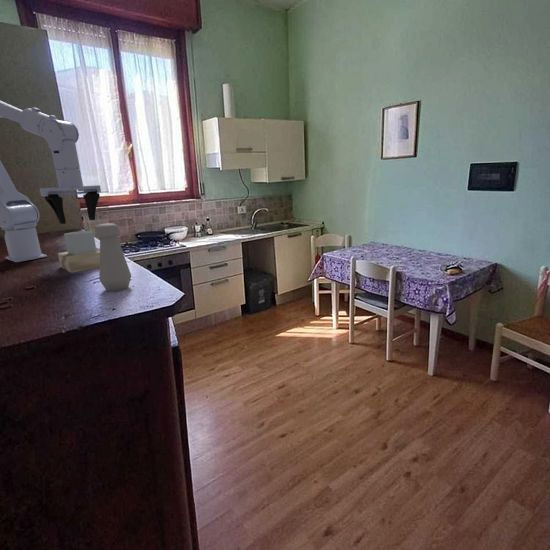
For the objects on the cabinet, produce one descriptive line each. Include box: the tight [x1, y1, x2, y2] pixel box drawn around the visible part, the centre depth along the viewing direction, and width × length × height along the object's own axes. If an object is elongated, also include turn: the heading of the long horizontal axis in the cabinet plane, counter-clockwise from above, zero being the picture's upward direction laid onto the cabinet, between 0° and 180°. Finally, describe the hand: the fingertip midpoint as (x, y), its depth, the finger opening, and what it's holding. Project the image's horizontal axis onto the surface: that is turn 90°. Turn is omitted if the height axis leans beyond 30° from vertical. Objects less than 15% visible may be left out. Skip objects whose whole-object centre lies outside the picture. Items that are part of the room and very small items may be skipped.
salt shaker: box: [94, 222, 132, 293], centre depth 70 cm, size 6×6×13 cm
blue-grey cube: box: [63, 230, 97, 255], centre depth 90 cm, size 5×5×5 cm
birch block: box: [57, 247, 100, 274], centre depth 92 cm, size 9×9×4 cm
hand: (78, 221), depth 97 cm, fingers open, 7 cm apart
